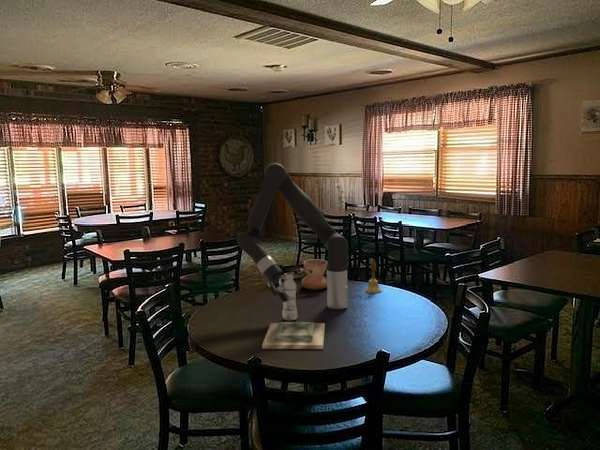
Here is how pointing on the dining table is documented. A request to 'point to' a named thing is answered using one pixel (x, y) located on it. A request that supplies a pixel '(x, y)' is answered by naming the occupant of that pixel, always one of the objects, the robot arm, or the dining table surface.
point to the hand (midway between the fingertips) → (292, 298)
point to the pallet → (294, 343)
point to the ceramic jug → (314, 274)
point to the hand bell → (373, 281)
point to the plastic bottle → (289, 298)
